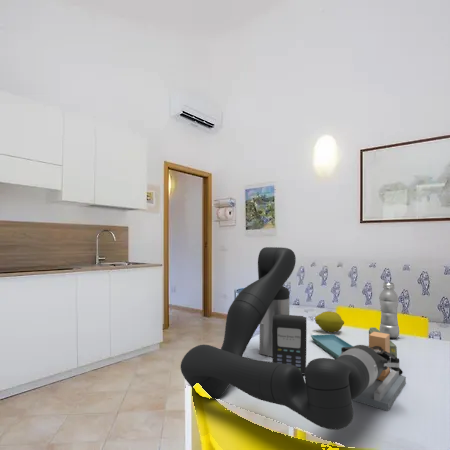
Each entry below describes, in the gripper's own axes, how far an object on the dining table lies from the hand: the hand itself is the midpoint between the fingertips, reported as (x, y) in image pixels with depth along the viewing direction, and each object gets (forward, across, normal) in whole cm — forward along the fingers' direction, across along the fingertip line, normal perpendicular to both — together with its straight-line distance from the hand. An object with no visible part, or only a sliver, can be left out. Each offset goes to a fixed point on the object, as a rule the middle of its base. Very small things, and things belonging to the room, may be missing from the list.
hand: (378, 350), depth 82 cm
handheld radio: (+22, -3, -8) cm, 23 cm away
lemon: (+40, -27, -7) cm, 49 cm away
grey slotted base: (-2, 0, -9) cm, 9 cm away
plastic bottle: (+48, -7, -6) cm, 49 cm away
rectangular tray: (+19, -16, -8) cm, 26 cm away
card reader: (-5, -21, -9) cm, 24 cm away
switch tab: (+3, 0, -7) cm, 7 cm away
